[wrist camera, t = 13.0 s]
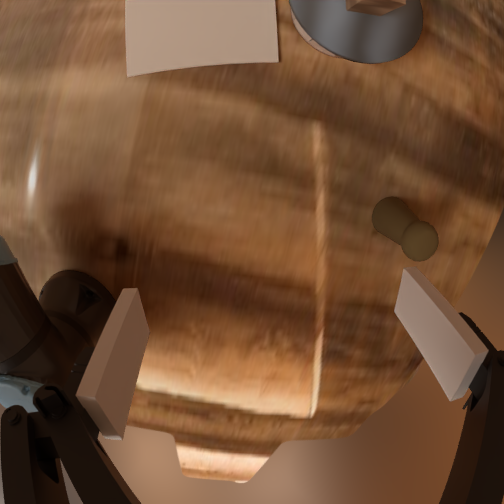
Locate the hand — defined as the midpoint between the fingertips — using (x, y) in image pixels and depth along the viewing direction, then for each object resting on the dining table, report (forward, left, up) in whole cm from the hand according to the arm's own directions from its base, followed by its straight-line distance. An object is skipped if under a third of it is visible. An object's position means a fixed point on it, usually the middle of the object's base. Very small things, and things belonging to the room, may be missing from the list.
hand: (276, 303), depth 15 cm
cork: (+21, -7, -29) cm, 36 cm away
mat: (-5, +24, -29) cm, 38 cm away
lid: (+13, +22, -22) cm, 33 cm away
